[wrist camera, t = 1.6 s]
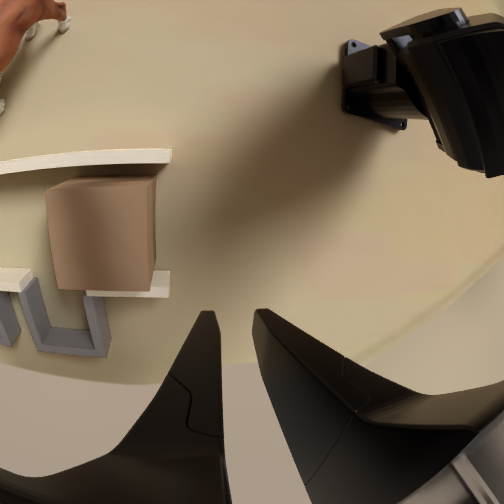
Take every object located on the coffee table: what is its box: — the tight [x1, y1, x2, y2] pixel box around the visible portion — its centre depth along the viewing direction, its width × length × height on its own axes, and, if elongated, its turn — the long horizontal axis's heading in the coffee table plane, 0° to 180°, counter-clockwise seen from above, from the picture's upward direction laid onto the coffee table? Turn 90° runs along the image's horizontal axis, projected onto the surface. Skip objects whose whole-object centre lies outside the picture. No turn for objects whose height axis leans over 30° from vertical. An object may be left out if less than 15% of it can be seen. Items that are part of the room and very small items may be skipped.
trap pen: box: [0, 148, 172, 358], centre depth 16 cm, size 27×15×3 cm, turn 85°
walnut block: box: [45, 175, 156, 292], centre depth 16 cm, size 6×6×5 cm
